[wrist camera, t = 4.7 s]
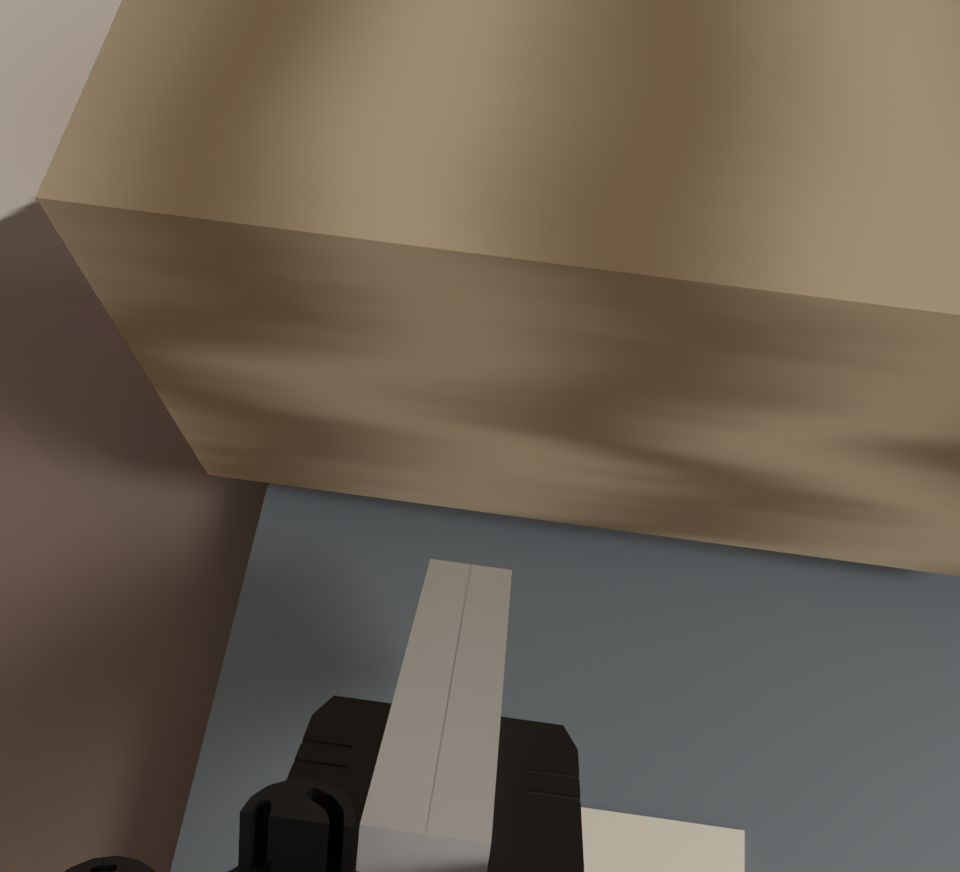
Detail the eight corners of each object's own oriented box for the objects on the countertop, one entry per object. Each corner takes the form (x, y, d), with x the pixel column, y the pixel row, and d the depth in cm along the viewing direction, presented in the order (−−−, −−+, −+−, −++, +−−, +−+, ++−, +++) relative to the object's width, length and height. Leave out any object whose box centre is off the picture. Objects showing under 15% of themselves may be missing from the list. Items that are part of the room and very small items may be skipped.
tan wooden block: (1073, 354, 22) (1480, 23, 13) (1116, 597, 19) (1659, 381, 10) (271, 251, 22) (160, -131, 14) (207, 474, 19) (22, 176, 11)
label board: (1028, 309, 25) (1073, 265, 23) (1194, 1370, 16) (1293, 1437, 14) (345, 223, 26) (337, 174, 24) (106, 1198, 16) (62, 1241, 14)
